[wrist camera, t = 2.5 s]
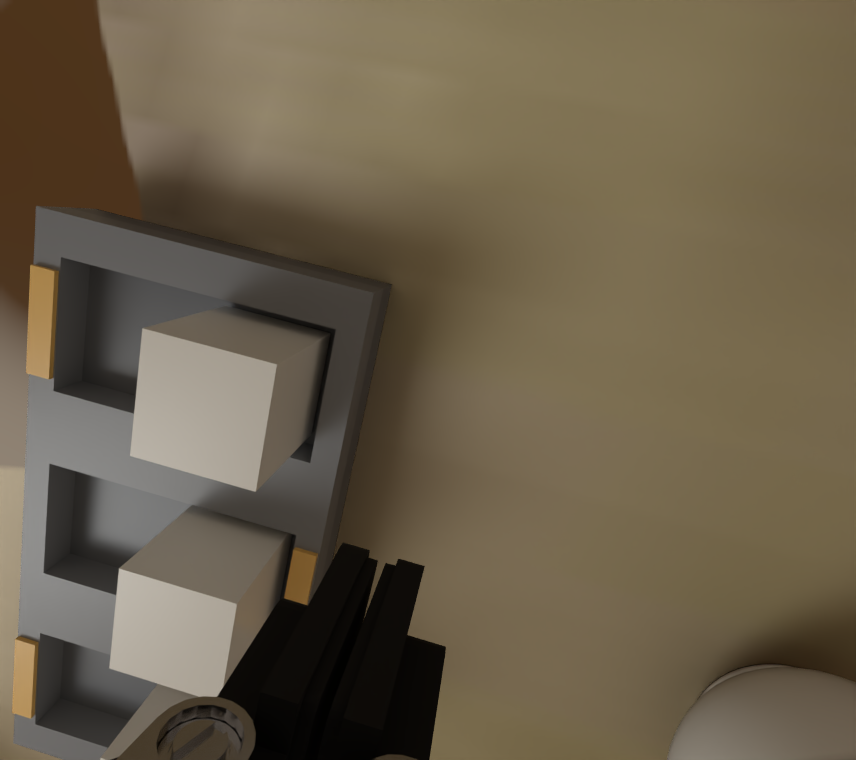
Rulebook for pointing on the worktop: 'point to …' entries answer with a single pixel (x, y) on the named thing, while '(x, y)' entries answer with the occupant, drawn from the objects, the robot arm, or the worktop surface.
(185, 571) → the tab
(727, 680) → the lidded jar
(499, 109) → the worktop surface
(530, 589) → the worktop surface
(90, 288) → the switch bank
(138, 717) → the tab
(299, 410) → the light grey block
